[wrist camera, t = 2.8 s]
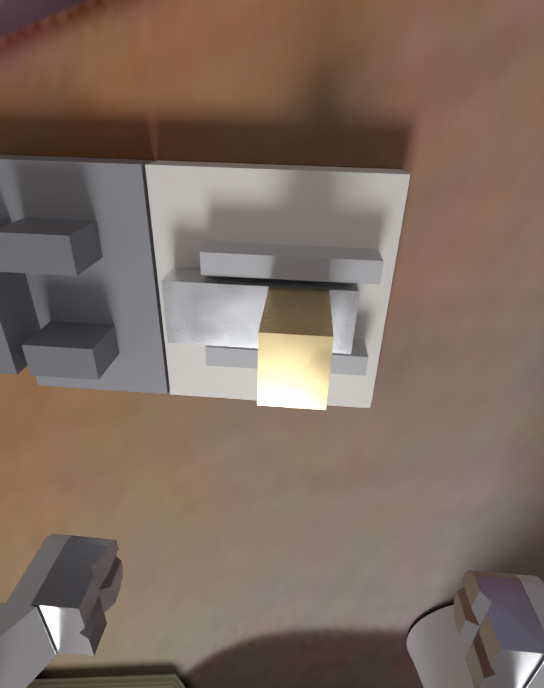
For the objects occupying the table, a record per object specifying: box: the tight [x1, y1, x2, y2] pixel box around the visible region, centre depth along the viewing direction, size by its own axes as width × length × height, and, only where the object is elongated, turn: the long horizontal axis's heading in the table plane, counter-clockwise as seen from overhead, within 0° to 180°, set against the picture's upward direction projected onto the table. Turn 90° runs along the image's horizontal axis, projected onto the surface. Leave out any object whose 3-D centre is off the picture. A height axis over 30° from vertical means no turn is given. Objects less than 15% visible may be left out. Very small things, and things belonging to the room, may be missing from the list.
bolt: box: [161, 268, 360, 410], centre depth 21 cm, size 10×4×7 cm, turn 89°
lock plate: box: [0, 155, 410, 408], centre depth 24 cm, size 22×14×5 cm, turn 89°
